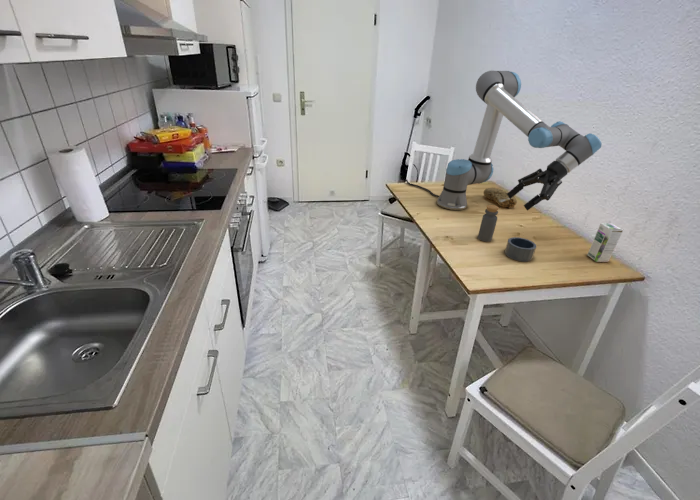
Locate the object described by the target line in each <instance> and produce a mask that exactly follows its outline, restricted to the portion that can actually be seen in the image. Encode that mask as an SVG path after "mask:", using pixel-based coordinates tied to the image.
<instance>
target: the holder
mask: <svg viewBox="0 0 700 500" xmlns="http://www.w3.org/2000/svg"><path fill="white" fill-rule="evenodd" d="M536 249H537V244H536V243H535V242H534V241H532V240H530V239H528V238H524V237H520V236H517V237H516V236H514V237H513V236H511V237H509V238H508V239H507V241H506V245H505V248H504V254H505V256H506V257H507V258H510V259H511V260H514V261H517V262H525V263H527V262H530V261H532V260H533V258H534V255H535V253H536Z"/></svg>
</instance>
